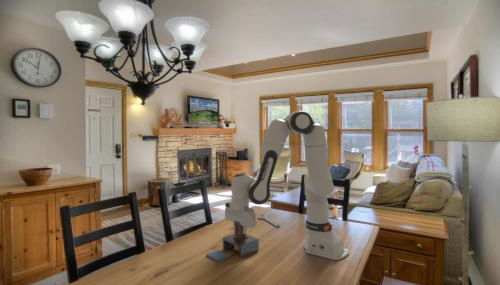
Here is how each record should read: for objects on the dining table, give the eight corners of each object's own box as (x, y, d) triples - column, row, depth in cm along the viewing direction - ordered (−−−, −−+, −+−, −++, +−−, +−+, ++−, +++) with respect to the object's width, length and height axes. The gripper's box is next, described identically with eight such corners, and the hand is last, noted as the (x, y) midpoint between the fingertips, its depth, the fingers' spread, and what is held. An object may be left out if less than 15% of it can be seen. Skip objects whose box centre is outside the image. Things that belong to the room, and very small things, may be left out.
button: (247, 249, 144) (247, 244, 144) (240, 251, 141) (240, 247, 140) (240, 246, 147) (240, 241, 147) (233, 249, 144) (233, 244, 144)
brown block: (245, 244, 144) (245, 220, 143) (239, 246, 141) (239, 222, 140) (240, 242, 147) (240, 219, 146) (234, 244, 144) (234, 220, 143)
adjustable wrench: (281, 228, 177) (281, 225, 177) (271, 229, 175) (271, 226, 175) (264, 216, 201) (264, 214, 201) (256, 217, 198) (256, 215, 198)
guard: (258, 250, 143) (258, 238, 143) (241, 258, 135) (241, 245, 135) (240, 242, 153) (239, 231, 153) (222, 249, 145) (222, 237, 145)
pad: (229, 257, 136) (229, 255, 136) (217, 262, 131) (217, 259, 131) (217, 251, 142) (217, 249, 142) (206, 255, 137) (206, 253, 137)
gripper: (259, 208, 138) (259, 236, 138) (232, 200, 152) (232, 226, 153) (250, 210, 133) (250, 239, 134) (222, 202, 148) (222, 228, 149)
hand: (240, 232), depth 144 cm, fingers closed on brown block, 4 cm apart
